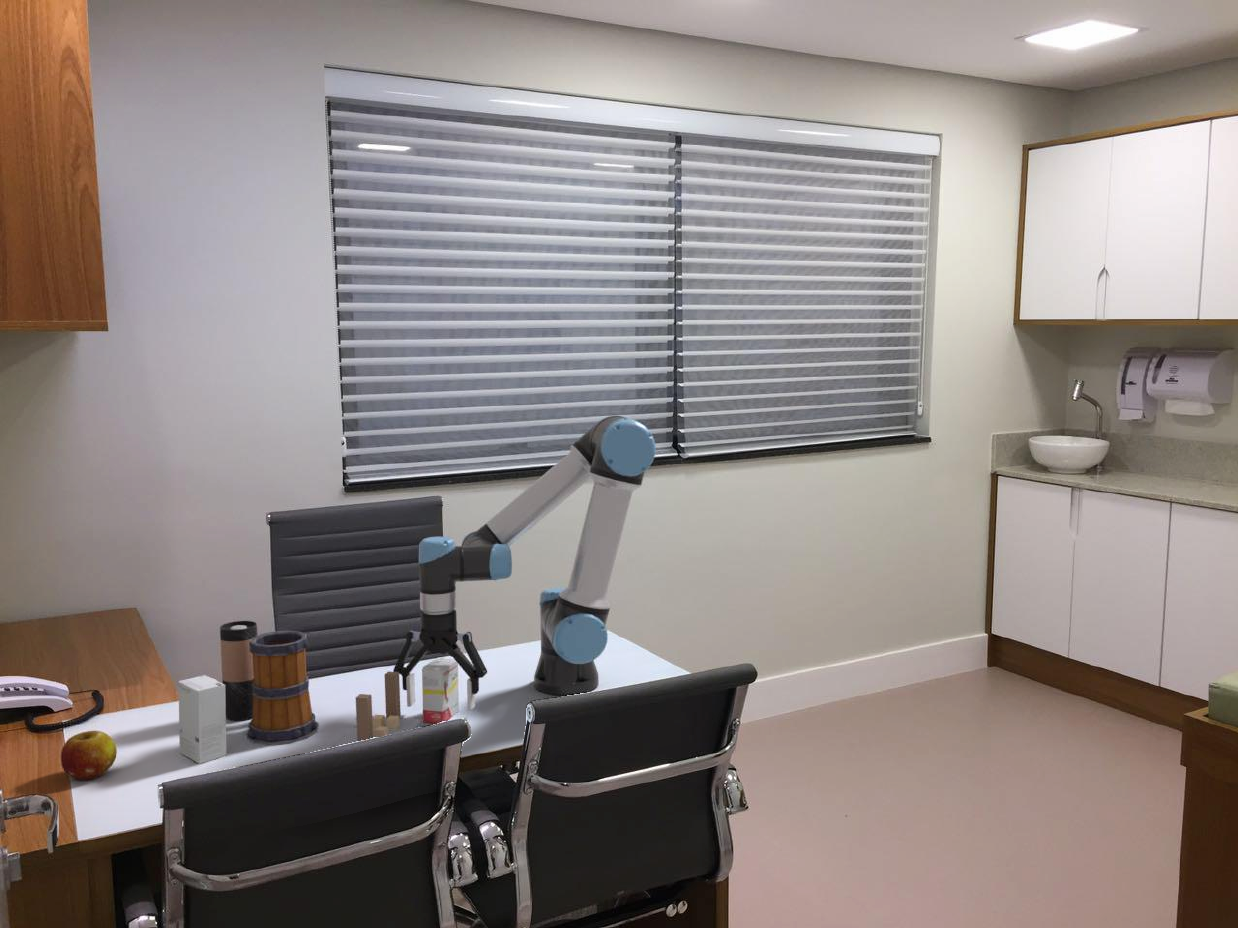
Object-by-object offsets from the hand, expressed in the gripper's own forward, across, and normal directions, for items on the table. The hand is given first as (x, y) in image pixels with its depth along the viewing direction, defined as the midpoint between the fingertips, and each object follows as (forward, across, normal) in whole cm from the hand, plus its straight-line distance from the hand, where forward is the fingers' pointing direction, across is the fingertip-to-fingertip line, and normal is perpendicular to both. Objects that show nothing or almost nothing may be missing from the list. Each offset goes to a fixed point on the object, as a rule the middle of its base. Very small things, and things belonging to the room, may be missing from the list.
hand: (441, 706), depth 219 cm
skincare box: (+2, +39, +27) cm, 48 cm away
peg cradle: (+2, +8, +14) cm, 16 cm away
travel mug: (+2, +43, +6) cm, 43 cm away
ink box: (+2, 0, 0) cm, 2 cm away
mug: (+2, +30, +11) cm, 32 cm away
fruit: (+2, +55, +39) cm, 67 cm away
